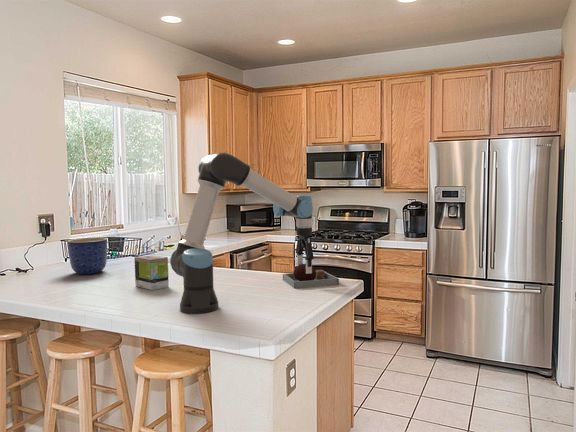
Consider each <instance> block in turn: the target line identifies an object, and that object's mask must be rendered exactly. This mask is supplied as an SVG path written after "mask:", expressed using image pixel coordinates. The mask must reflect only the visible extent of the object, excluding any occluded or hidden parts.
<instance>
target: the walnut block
mask: <svg viewBox="0 0 576 432" xmlns="http://www.w3.org/2000/svg"><path fill="white" fill-rule="evenodd" d="M315 270H316V277H315V279H317V280H319V279H324V271H325V270H323V269H315Z"/></svg>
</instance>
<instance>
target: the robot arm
mask: <svg viewBox="0 0 576 432" xmlns="http://www.w3.org/2000/svg"><path fill="white" fill-rule="evenodd" d="M197 168H198V173H199V174H198V177H197V182H198V184H199V187H198V191H197V193H196V196H195V200H194V202H193V203H194V204H193V207H192V210H191V214H190V217H189V220H188V224H187V226H186V230H185V232H184V236H183V239H182V240H180V241H178V243H177V247H176V249H175V250H174V251H173V252H172V254H171V256H170V259H169V264H170V267H171V269H172V271H174V273H175V274H176V275H177V276H179V277H182V278H183V293H182V296H181V300H180V303H179V310H180V312H182V313H184V314H192V315H193V314H194V315H195V314H206V313H211V312H214V311H216V310H218V309H219V305H220V304H219V300H218V297H217V294H216V291H215V289H214V288H215V287H214V258H213V253H212V252H211V251H210V249H209V250H208V249H206V247H205V245H204V244H205V241H206V240H205V239H206V237H207V233H208V230H209V228H210V227H209V226H210V223H211V220H212V218H213V217H212V216H213V214H214V210H215V205H216V203H217V200H218V196H219V193H220V192H221V191H222V190H223V189H225V185H226V184H227V183H226V182H228V183H232V184H234V185H235V186H238V187H240V186H243V187H244V188H246V189H248V190H249V191H251V192H252V193H255V194H257V195H258V196H260V197H262V198H264V199H265V200H267V201H269V202H271V203H272V204H273V205H272V210H273V213H274V215H275V216H276V217H293V218H294V217H295V223H296V224H295V225H296V233H295V234H296V236H297V242H296V246H295V247H296V249H295V254H296V257H297V258H296V259H297V260H296V264H297V265H296V267H297V266H298V265H300V264H304V254H305V264H306V274H309V273H312V267H313V260H314V259H315V257H314V252H313V251H314V250H313V245H312V238H309V236H310V237H311V236H312V235H313V228H312V227H313V222H314V220H313V211H314V207H313V198H312V196H311V195H309V194H301V195H300V194H298V195H294V194H292V193H291V192H289V191H287V190H286V189H284V188H282V187H281V186H279V185H277V184H276V183H274V182H272V181H271V180H269V179H268V178H265V177H264V176H262V175H261V174H260V173H258V172H256V171H254V170H253V169H252V168H251V166H250V165H249V164H248V163H245V162H244V161H242V160H241V159H240V158H238V157H237V156H235V155H232V154H230V153H228V152H219V153H218V152H217V153H209V154H208V155H206V156H204V157H203V158H201V160H200V162H199V164H198V167H197ZM304 252H305V253H304Z"/></svg>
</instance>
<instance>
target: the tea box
mask: <svg viewBox="0 0 576 432" xmlns="http://www.w3.org/2000/svg"><path fill="white" fill-rule="evenodd" d="M134 277H135V278H134V280H135V281H134V282H135V287H138V288H141V289H146V290H149V291H153V290H160V289H165V288H169V283H170V282H169V281H170V280H169V257H167V256H161V255H154V254H148V255H147V254H146V255H140V256H134Z"/></svg>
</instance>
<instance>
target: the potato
mask: <svg viewBox="0 0 576 432" xmlns="http://www.w3.org/2000/svg"><path fill="white" fill-rule="evenodd" d="M316 270H317V269H316V268H314V266H312V273H309V274H306V263H303V264H300V265H298V266H297V265H296V266H295V268H293V270H292V271H293V272H292V273H293V274H294V276H295V278H296V279H297V280H299V281H310V280H314V279H315V277H316Z"/></svg>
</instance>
